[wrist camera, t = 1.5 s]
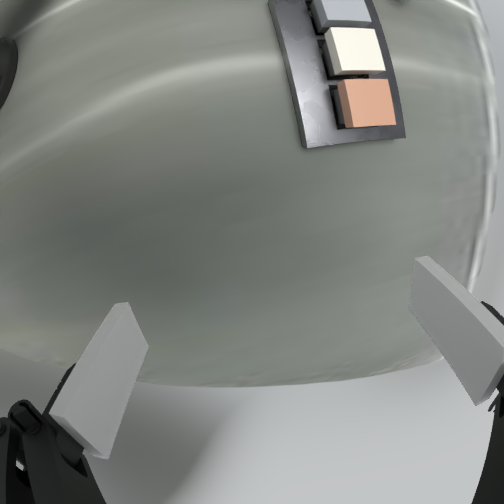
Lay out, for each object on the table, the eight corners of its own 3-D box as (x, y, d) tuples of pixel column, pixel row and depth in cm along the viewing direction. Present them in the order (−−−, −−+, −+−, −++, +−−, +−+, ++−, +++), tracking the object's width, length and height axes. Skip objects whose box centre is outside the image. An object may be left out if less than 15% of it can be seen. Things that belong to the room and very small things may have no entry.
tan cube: (328, 87, 25) (344, 79, 20) (366, 86, 24) (387, 79, 20) (336, 128, 27) (353, 127, 22) (373, 124, 26) (396, 124, 21)
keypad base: (267, 3, 22) (269, -8, 19) (360, 2, 21) (369, -7, 18) (302, 146, 29) (307, 147, 27) (393, 136, 29) (405, 137, 26)
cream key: (317, 43, 22) (330, 27, 18) (355, 42, 22) (374, 29, 17) (326, 80, 24) (342, 70, 20) (364, 78, 24) (385, 70, 19)
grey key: (305, 4, 20) (315, -16, 16) (343, 4, 20) (358, -14, 15) (315, 36, 22) (327, 19, 17) (353, 36, 22) (371, 21, 17)
